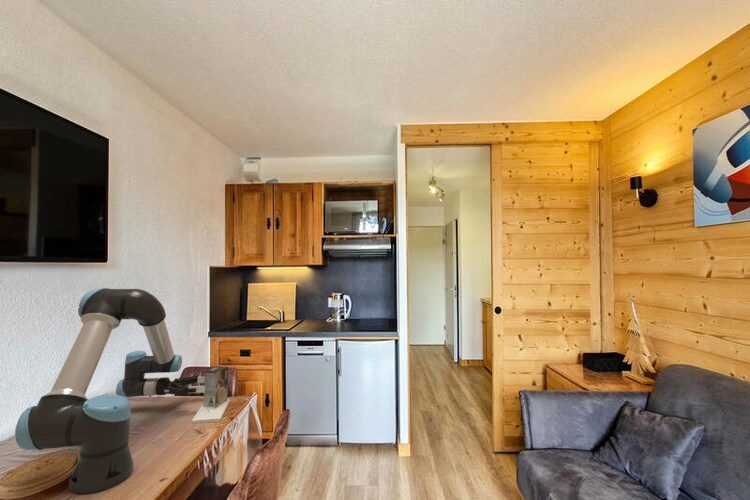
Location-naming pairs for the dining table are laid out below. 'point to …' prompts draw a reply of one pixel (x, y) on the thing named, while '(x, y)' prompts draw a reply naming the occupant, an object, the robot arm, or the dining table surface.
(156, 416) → the dining table surface
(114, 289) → the robot arm
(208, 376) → the coffee box
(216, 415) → the marked board
